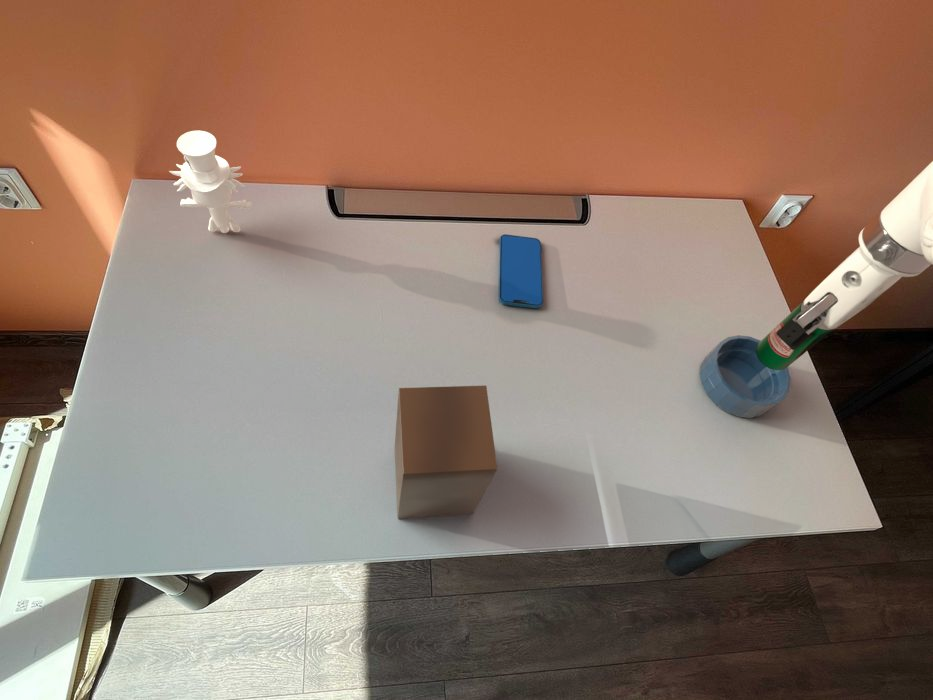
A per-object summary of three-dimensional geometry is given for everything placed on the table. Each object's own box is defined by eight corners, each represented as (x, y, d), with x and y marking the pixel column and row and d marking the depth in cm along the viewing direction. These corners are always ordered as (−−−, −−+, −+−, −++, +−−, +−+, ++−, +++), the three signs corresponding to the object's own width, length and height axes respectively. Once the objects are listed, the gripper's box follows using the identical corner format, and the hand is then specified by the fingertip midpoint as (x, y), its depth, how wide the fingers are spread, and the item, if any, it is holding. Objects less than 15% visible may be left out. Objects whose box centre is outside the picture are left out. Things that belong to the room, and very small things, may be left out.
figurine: (260, 215, 98) (239, 126, 82) (256, 250, 94) (233, 164, 78) (195, 213, 96) (160, 122, 81) (188, 249, 92) (150, 160, 77)
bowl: (786, 396, 93) (806, 382, 89) (737, 432, 89) (756, 419, 84) (732, 340, 98) (748, 323, 93) (683, 371, 93) (697, 356, 89)
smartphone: (541, 238, 102) (543, 306, 94) (539, 242, 103) (542, 310, 95) (500, 233, 102) (499, 301, 94) (499, 237, 102) (498, 305, 94)
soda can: (747, 346, 85) (797, 297, 75) (774, 339, 86) (827, 291, 76) (765, 375, 83) (820, 329, 73) (793, 368, 84) (851, 322, 74)
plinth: (465, 442, 82) (486, 385, 66) (473, 513, 77) (497, 469, 61) (394, 446, 80) (398, 387, 65) (397, 519, 75) (403, 474, 60)
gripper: (887, 295, 59) (781, 380, 74) (968, 238, 66) (855, 327, 81) (829, 245, 62) (738, 337, 77) (912, 196, 68) (813, 289, 84)
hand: (799, 331), depth 79 cm, fingers closed on soda can, 5 cm apart
